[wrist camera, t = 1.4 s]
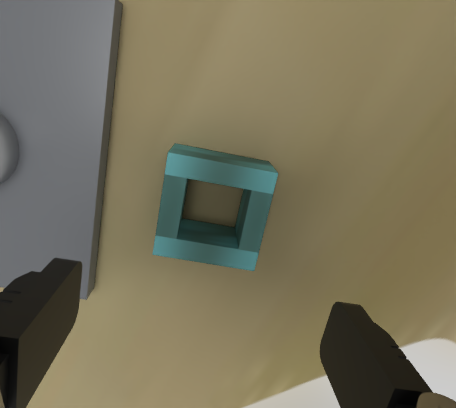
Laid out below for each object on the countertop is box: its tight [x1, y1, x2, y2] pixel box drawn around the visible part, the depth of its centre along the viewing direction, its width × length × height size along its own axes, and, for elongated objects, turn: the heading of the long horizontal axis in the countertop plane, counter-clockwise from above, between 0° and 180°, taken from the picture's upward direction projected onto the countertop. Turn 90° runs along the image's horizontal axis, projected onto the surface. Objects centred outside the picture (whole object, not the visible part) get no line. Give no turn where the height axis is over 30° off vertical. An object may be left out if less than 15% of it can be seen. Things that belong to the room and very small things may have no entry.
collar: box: [153, 143, 278, 271], centre depth 21 cm, size 6×6×4 cm
